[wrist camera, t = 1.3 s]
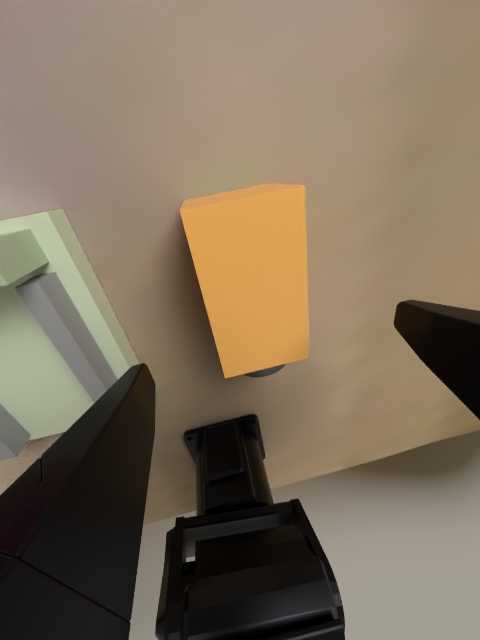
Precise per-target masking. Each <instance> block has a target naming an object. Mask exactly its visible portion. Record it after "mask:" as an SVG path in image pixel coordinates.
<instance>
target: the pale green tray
mask: <svg viewBox="0 0 480 640" xmlns="http://www.w3.org/2000/svg"><path fill="white" fill-rule="evenodd" d="M137 364H140V363H139V361H138V359H137V357H136V355H135V353H134V351H133V349H132V347H131V345H130V343H129V341H128V339H127V337H126V335H125V333H124V331H123V329H122V327H121V325H120V323H119V321H118V319H117V317H116V315H115V313H114V311H113V309H112V307H111V305H110V303H109V301H108V299H107V297H106V295H105V293H104V291H103V289H102V287H101V285H100V283H99V281H98V279H97V277H96V275H95V273H94V271H93V269H92V267H91V265H90V263H89V261H88V259H87V257H86V255H85V253H84V251H83V249H82V247H81V245H80V243H79V241H78V239H77V237H76V235H75V233H74V230H73V228H72V226H71V224H70V222H69V220H68V218H67V216H66V214H65V212H64V210H63V209H58V210H52V211H47V212H42V213H37V214H32V215H27V216H22V217H17V218H11V219H6V220H1V221H0V460H4V459H8V458H12V457H16V456H18V454H19V452H20V451H21V449H22V448H23V446H24V445H25V443H26V441H30V440H34V439H38V438H42V437H46V436H50V435H54V434H58V433H62V432H66V431H67V430H68V429H69V428H70V427H71V426H72V425H73V424H74V423H75V422H76V421H77V420H78V419H79V418H80V417H81V416H82V415H83V414H84V413H85V412H86V411H87V410H88V409H89V408H90V407H91V406H92V405H93V404H94V403H95V402H96V401H97V400H98V399H99V398H100V397H101V396H102V395H103V394H104V393H105V392H106V391H107V390H108V389H109V388H110V387H111V386H112V385H113V384H114V383H115V382H116V381H117V380H118V379H119V378H120V377H121V376H122V375H123V374H124V373H125V372H126V371H127V370H128V369H129V368H130V367H131V366H133V365H137Z"/></svg>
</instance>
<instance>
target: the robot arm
mask: <svg viewBox="0 0 480 640" xmlns="http://www.w3.org/2000/svg"><path fill="white" fill-rule="evenodd" d="M394 326H395V328H396V330H397V331H398V332H399V333H400V335H401V336H402V337H403V338H404V339H405V341H406V342H407V343H408V344H409V346H410V347H411V348H412V349H413V351H414V352H415V353H416V354H417V356H418V357H419V358H420V359H421V360H422V361H423V362H424V364H425V365H426V366H427V367H428V368H429V369H430V370H431V371H432V372H433V373H434V374H435V375H436V376H437V377H438V378H439V379H440V380H441V381H442V382H443V383H444V384H445V385H446V386H447V387H448V388H449V389H450V390H451V391H452V392H453V393H454V394H455V395H456V396H457V397H458V398H459V399H460V400H461V401H462V402H463V403H464V404H465V405H466V406H467V407H468V408H469V409H470V410H471V411H472V412H473V414H474V415H475V416H476V417H477V418H478V419H479V420H480V311H477V310H471V309H465V308H459V307H453V306H447V305H441V304H435V303H429V302H423V301H417V300H407V301H402V302H400V303H398V305H397V307H396V313H395V318H394ZM154 433H155V382H154V379H153V377H152V375H151V373H150V371H149V369H148V367H147V365H146V364H144V363H142V364H137V365H133V366H131V367H130V368H129V369H128V370H127V371H126V372H125V373H124V374H123V375H122V376H121V377H120V378H119V379H118V380H117V381H116V382H115V383H114V384H113V385H112V386H111V387H110V388H109V389H108V390H107V391H106V392H105V393H104V394H103V395H102V396H101V397H100V398H99V399H98V400H97V401H96V402H95V403H94V404H93V405H92V406H91V407H90V408H89V409H88V410H87V411H86V412H85V413H84V414H83V415H82V416H81V417H80V418H79V419H78V420H77V421H76V422H75V423H74V424H73V425H72V426H71V427H70V428H69V429H68V430H67V431H66V432H65V433H64V434H63V435H62V436H61V437H60V438H59V439H58V440H57V441H55V442H54V443H53V444H52V445H51V446H50V447H49V448H48V449H47V450H46V451H45V452H44V453H43V454H42V456H41V458H38V459H37V460H36V461H35V462H34V463H33V464H32V465H31V466H30V467H29V468H28V469H27V470H26V471H25V472H24V473H23V474H22V475H21V476H20V477H19V478H18V479H17V480H16V481H15V482H14V483H13V484H12V485H11V486H10V487H9V488H7V489H6V490H5V491H4V492H3V493H2V494H1V495H0V640H128V638H129V630H130V622H129V621H130V620H131V613H132V606H133V598H134V590H135V583H136V575H137V567H138V559H139V551H140V543H141V536H142V527H143V520H144V512H145V504H146V497H147V489H148V481H149V473H150V465H151V457H152V450H153V442H154ZM184 441H185V444H186V446H187V448H188V450H189V452H190V454H191V456H192V458H193V460H194V463H195V465H196V503H197V516H194V517H188V518H184V516H183V517H177V518H176V524H175V527H174V528H173V529H171V530H170V531H168V532H167V535H166V549H165V563H164V570H163V577H162V584H161V591H160V598H159V605H158V612H157V619H156V631H155V634H156V637H157V638H158V640H345V635H344V631H345V619H344V612H343V605H342V601H341V596H340V592H339V589H338V586H337V582H336V579H335V576H334V573H333V571H332V568H331V566H330V564H329V561H328V559H327V557H326V555H325V553H324V551H323V549H322V547H321V545H320V543H319V540H318V538H317V536H316V534H315V532H314V530H313V528H312V526H311V524H310V522H309V520H308V518H307V515H306V513H305V511H304V509H303V507H302V505H301V503H300V501H299V499H292V500H290V501H288V502H282V503H276V504H274V503H273V499H272V495H271V491H270V487H269V483H268V479H267V475H266V471H265V467H264V463H263V459H265V452H264V447H263V442H262V437H261V432H260V427H259V422H258V418H257V415H254V414H251V415H247V416H243V417H239V418H236V419H232V420H228V421H224V422H220V423H216V424H212V425H208V426H205V427H201V428H197V429H193V430H189V431H186V432H185V433H184ZM193 556H195V561H191V562H186V558H187V557H193Z"/></svg>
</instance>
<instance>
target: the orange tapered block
mask: <svg viewBox="0 0 480 640" xmlns="http://www.w3.org/2000/svg"><path fill="white" fill-rule="evenodd" d="M180 214H181V218H182V222H183V225H184V229H185V233H186V236H187V240H188V244H189V247H190V251H191V255H192V258H193V262H194V266H195V269H196V273H197V277H198V280H199V284H200V288H201V291H202V295H203V299H204V302H205V306H206V310H207V314H208V317H209V321H210V325H211V328H212V332H213V336H214V339H215V343H216V347H217V350H218V354H219V358H220V361H221V365H222V369H223V372H224V376H225V378H229V377H233V376H237V375H242V374H243V375H246V376H250V377H263V376H268V375H271V374H273V373H275V372H277V371H279V370H280V369H282V368H283V367H284V366H285V364H286V363H291V362H295V361H299V360H303V359H307V358H309V321H308V283H307V245H306V206H305V185H289V184H264V185H259V186H254V187H249V188H244V189H239V190H234V191H229V192H224V193H219V194H214V195H209V196H204V197H199V198H194V199H189V200H184V202H183V204H182V206H181V208H180Z"/></svg>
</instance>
